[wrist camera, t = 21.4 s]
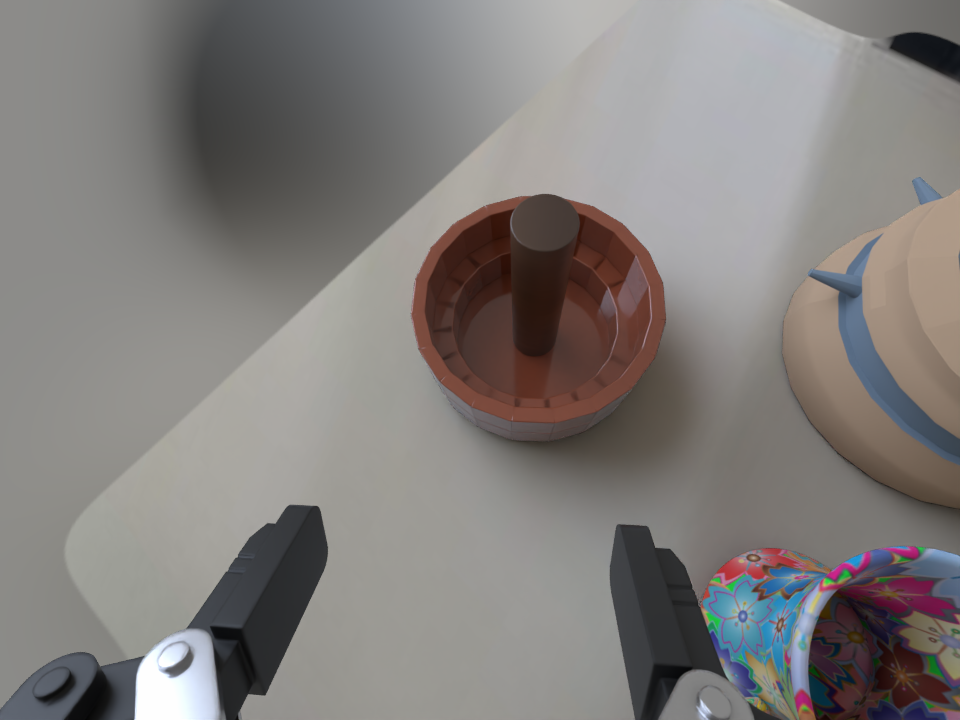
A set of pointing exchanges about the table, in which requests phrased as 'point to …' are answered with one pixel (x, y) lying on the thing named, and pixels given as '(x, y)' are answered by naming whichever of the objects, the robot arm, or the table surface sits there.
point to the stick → (540, 269)
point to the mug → (840, 633)
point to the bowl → (581, 334)
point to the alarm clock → (887, 350)
